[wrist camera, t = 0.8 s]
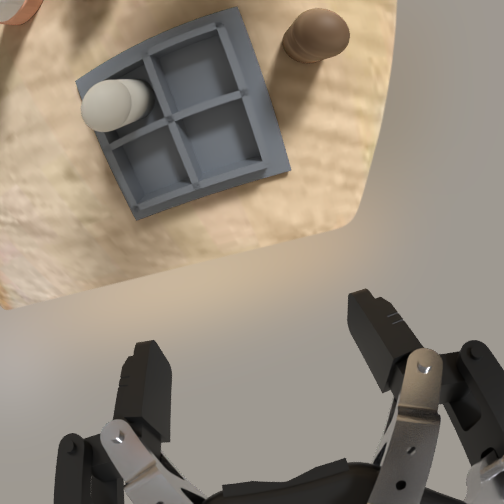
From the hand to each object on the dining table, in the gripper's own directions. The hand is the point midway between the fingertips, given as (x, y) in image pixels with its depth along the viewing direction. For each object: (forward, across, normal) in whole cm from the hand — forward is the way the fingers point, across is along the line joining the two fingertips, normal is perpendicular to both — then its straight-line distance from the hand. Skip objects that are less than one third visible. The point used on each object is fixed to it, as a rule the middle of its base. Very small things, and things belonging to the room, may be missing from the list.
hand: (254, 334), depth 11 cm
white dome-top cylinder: (+25, +8, -12) cm, 28 cm away
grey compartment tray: (+25, +3, -8) cm, 27 cm away
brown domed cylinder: (+23, -12, -14) cm, 30 cm away
